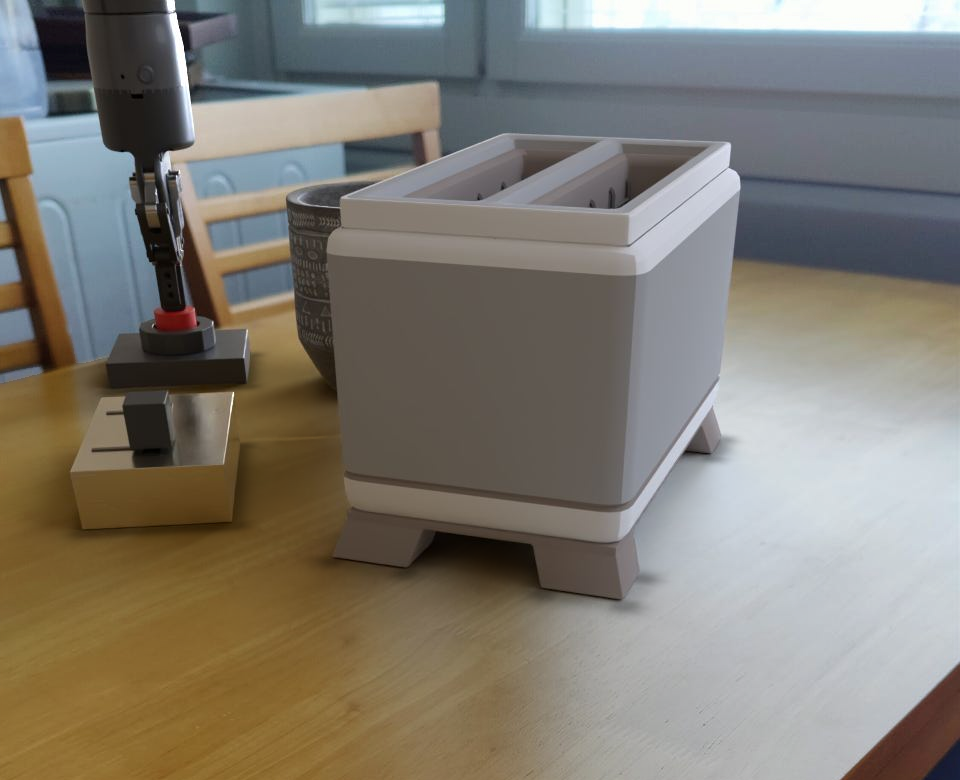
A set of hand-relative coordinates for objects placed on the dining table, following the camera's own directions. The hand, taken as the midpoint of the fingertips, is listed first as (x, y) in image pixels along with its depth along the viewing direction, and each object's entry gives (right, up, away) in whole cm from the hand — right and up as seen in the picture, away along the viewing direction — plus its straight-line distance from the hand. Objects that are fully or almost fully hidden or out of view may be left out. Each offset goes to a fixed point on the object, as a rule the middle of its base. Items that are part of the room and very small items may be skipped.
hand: (174, 309), depth 108 cm
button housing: (0, -4, +3) cm, 5 cm away
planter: (+19, -7, 0) cm, 20 cm away
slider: (+5, -20, -25) cm, 33 cm away
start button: (0, -1, +1) cm, 2 cm away
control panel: (+4, -22, -20) cm, 29 cm away
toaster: (+33, -22, -20) cm, 44 cm away
